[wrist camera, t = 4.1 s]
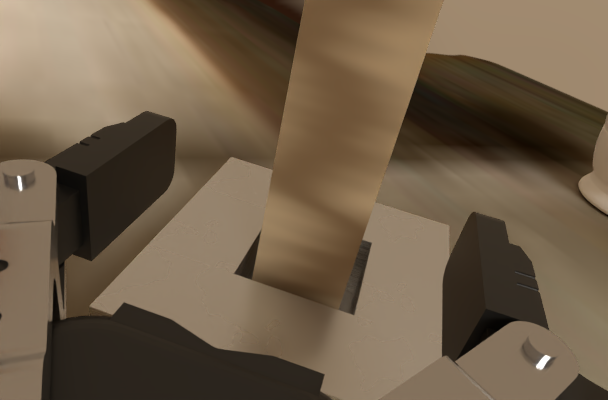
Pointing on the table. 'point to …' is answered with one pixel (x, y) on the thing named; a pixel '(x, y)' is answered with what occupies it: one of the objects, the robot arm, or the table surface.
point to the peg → (338, 138)
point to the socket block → (288, 307)
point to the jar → (598, 174)
